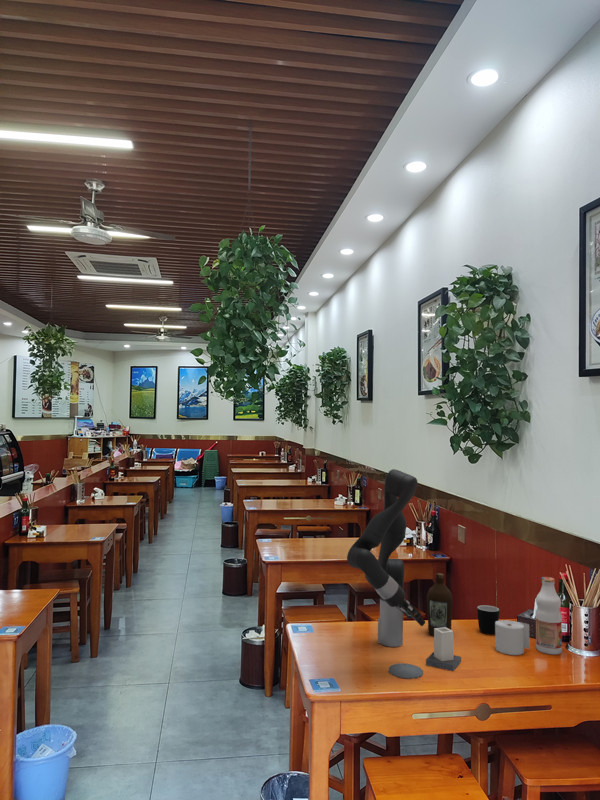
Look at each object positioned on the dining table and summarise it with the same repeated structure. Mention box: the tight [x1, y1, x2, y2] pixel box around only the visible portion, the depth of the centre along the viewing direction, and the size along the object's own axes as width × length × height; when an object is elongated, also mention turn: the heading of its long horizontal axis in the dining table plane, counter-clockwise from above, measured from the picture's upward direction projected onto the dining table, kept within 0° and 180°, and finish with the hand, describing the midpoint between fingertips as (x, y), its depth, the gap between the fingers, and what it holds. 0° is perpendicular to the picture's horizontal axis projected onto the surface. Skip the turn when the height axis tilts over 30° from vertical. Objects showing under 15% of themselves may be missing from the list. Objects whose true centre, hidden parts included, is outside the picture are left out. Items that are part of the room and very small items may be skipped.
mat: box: [388, 662, 424, 680], centre depth 198 cm, size 12×12×1 cm
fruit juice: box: [535, 576, 563, 655], centre depth 223 cm, size 9×9×28 cm
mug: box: [476, 604, 500, 636], centre depth 245 cm, size 12×9×10 cm
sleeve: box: [433, 627, 455, 661], centre depth 207 cm, size 5×5×10 cm
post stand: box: [425, 651, 462, 672], centre depth 207 cm, size 10×10×10 cm
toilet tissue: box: [494, 619, 530, 656], centre depth 223 cm, size 11×12×10 cm
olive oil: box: [426, 572, 454, 637], centre depth 240 cm, size 11×11×25 cm
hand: (417, 620), depth 204 cm, fingers open, 8 cm apart
